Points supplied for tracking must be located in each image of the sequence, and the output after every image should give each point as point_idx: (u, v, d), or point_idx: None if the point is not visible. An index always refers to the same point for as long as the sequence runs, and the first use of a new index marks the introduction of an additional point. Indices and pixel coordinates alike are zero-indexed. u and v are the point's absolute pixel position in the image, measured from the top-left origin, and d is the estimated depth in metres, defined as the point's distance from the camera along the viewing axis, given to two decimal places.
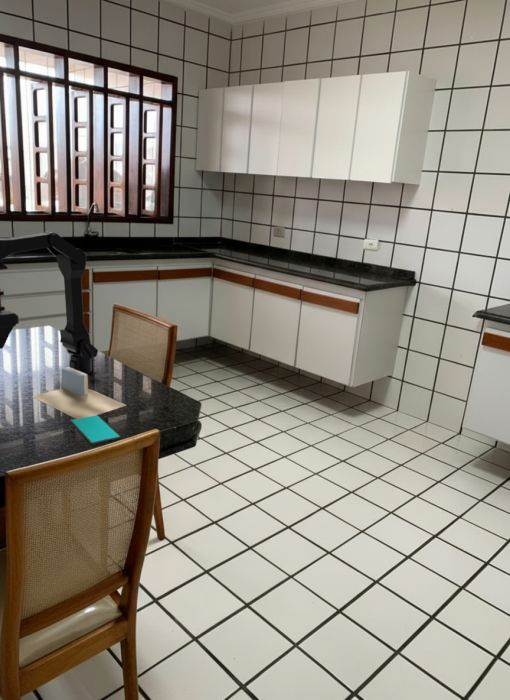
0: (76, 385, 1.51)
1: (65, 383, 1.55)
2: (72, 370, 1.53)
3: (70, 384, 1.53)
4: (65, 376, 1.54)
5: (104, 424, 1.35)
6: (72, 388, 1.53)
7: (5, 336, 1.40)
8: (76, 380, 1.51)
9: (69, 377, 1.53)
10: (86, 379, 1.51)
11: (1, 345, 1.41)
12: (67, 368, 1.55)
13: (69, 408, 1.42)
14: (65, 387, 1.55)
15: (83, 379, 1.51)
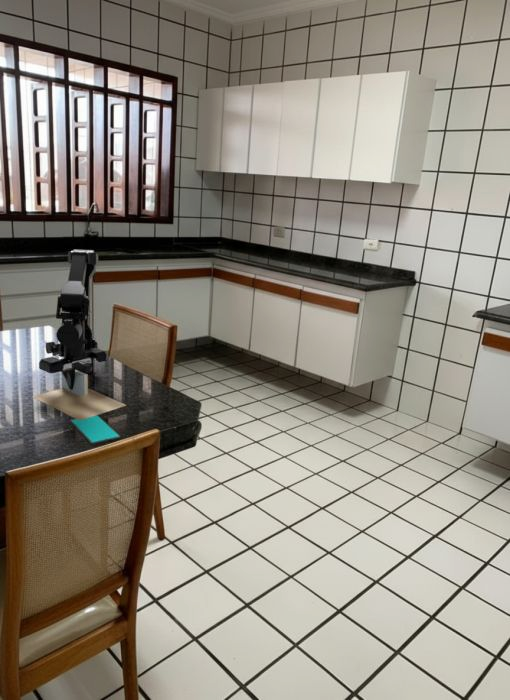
0: (76, 385, 1.51)
1: (65, 383, 1.55)
2: None
3: None
4: None
5: (104, 424, 1.35)
6: None
7: (69, 380, 1.51)
8: (76, 380, 1.51)
9: None
10: (86, 379, 1.51)
11: (69, 386, 1.53)
12: None
13: (69, 408, 1.42)
14: (65, 387, 1.55)
15: (83, 379, 1.51)
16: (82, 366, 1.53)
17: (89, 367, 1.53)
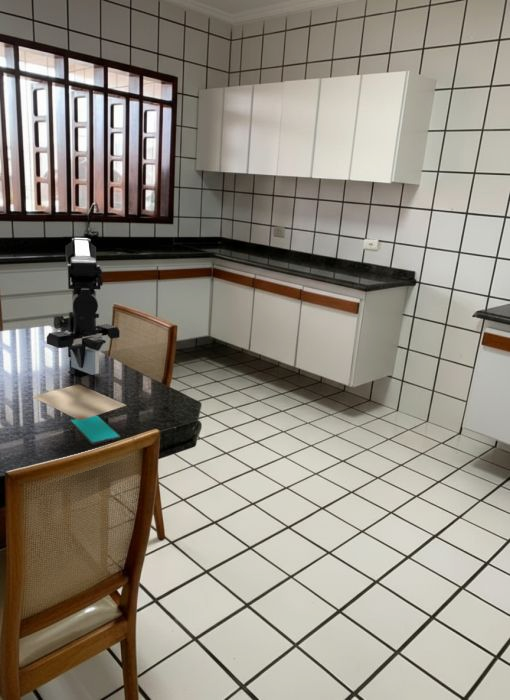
0: (86, 363, 1.39)
1: (74, 361, 1.43)
2: None
3: None
4: None
5: (104, 424, 1.35)
6: None
7: (79, 357, 1.39)
8: (86, 357, 1.39)
9: None
10: (98, 356, 1.39)
11: (79, 364, 1.40)
12: None
13: (69, 408, 1.42)
14: (74, 366, 1.43)
15: (94, 356, 1.39)
16: (93, 342, 1.41)
17: (101, 343, 1.41)
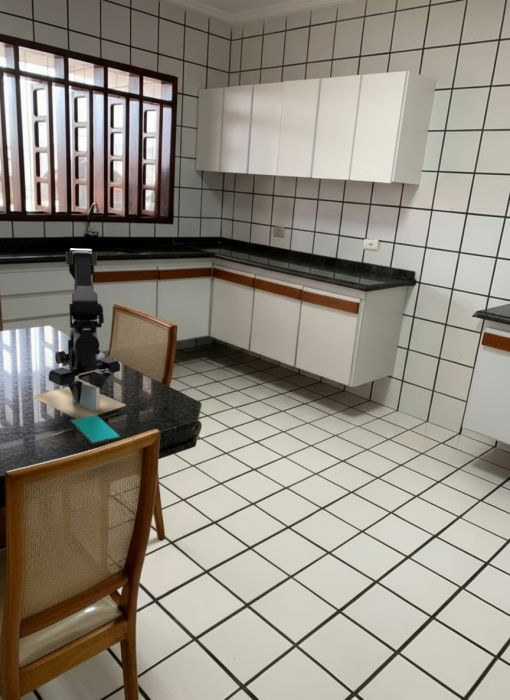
0: (87, 399, 1.42)
1: None
2: (83, 383, 1.44)
3: (81, 398, 1.44)
4: None
5: (104, 424, 1.35)
6: (83, 403, 1.44)
7: (75, 393, 1.40)
8: (87, 394, 1.42)
9: None
10: (98, 393, 1.42)
11: (76, 400, 1.42)
12: None
13: (69, 408, 1.42)
14: None
15: (95, 393, 1.41)
16: (99, 376, 1.45)
17: (106, 377, 1.45)
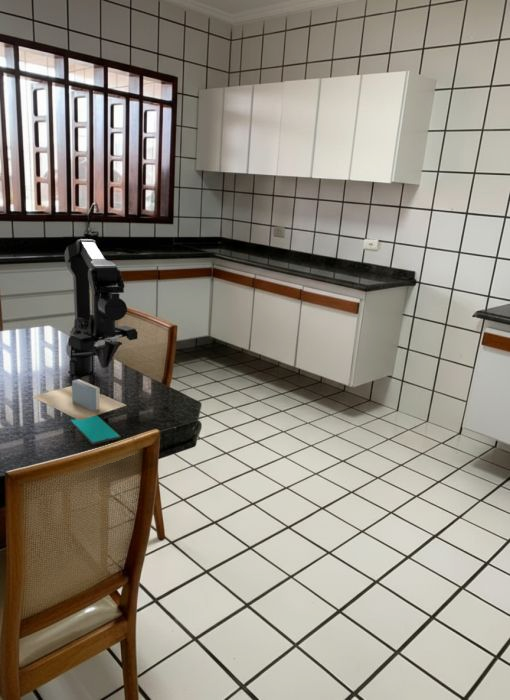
0: (87, 399, 1.42)
1: (75, 396, 1.46)
2: (83, 383, 1.44)
3: (81, 398, 1.44)
4: (75, 389, 1.45)
5: (104, 424, 1.35)
6: (83, 403, 1.44)
7: (101, 357, 1.44)
8: (87, 394, 1.42)
9: (80, 391, 1.44)
10: (98, 393, 1.42)
11: (101, 364, 1.46)
12: (77, 381, 1.45)
13: (69, 408, 1.42)
14: (75, 401, 1.46)
15: (95, 393, 1.41)
16: (110, 344, 1.45)
17: (117, 345, 1.45)
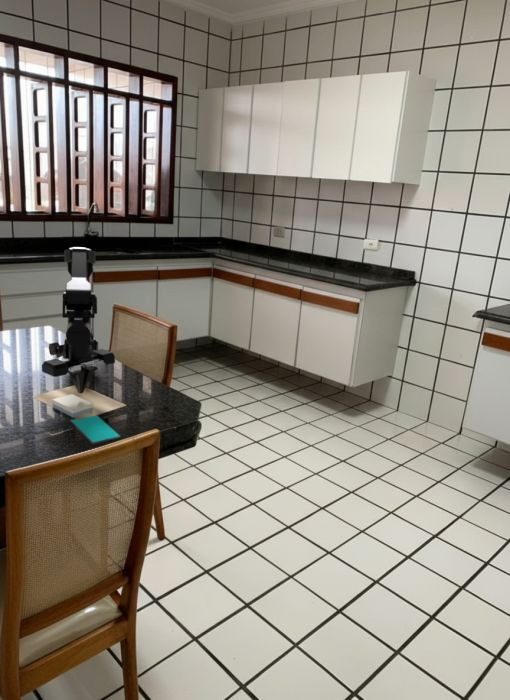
0: None
1: None
2: (60, 407, 1.40)
3: None
4: None
5: (103, 424, 1.35)
6: None
7: (78, 383, 1.40)
8: None
9: None
10: (77, 408, 1.38)
11: (78, 390, 1.42)
12: (55, 405, 1.41)
13: None
14: None
15: (76, 412, 1.38)
16: (85, 370, 1.40)
17: (92, 371, 1.40)
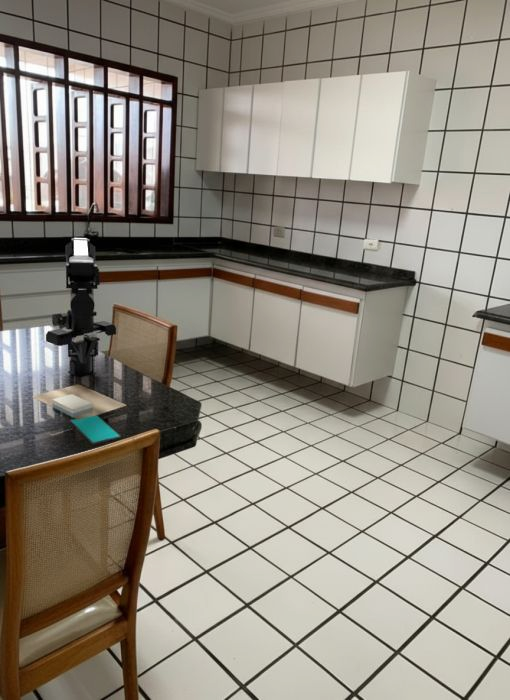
0: None
1: None
2: (60, 407, 1.40)
3: None
4: None
5: (103, 424, 1.35)
6: None
7: (80, 353, 1.44)
8: None
9: None
10: (77, 408, 1.38)
11: (81, 360, 1.46)
12: (55, 405, 1.41)
13: None
14: None
15: (76, 412, 1.38)
16: (87, 340, 1.44)
17: (95, 341, 1.45)
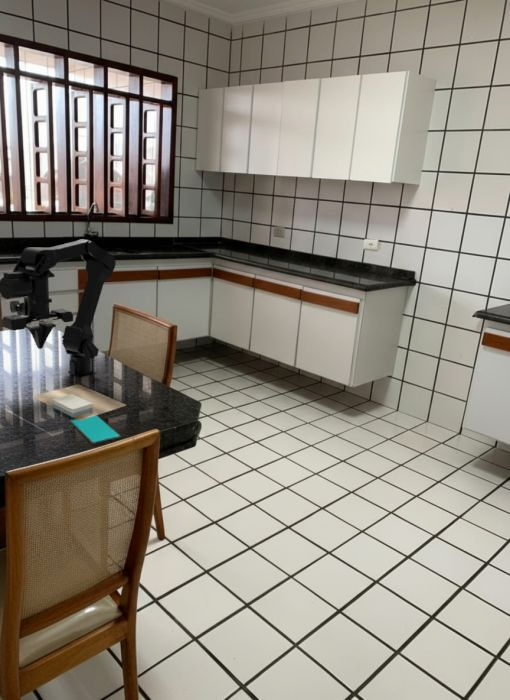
0: None
1: None
2: (60, 407, 1.40)
3: None
4: None
5: (103, 424, 1.35)
6: None
7: (36, 338, 1.50)
8: None
9: None
10: (77, 408, 1.38)
11: (37, 345, 1.52)
12: (55, 405, 1.41)
13: None
14: None
15: (76, 412, 1.38)
16: (43, 326, 1.50)
17: (51, 327, 1.50)
